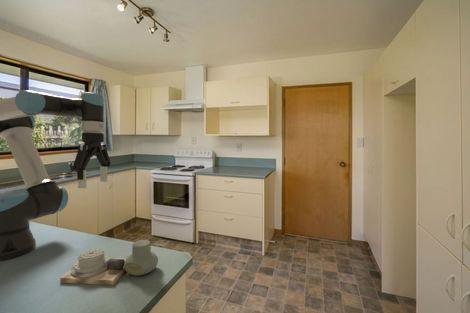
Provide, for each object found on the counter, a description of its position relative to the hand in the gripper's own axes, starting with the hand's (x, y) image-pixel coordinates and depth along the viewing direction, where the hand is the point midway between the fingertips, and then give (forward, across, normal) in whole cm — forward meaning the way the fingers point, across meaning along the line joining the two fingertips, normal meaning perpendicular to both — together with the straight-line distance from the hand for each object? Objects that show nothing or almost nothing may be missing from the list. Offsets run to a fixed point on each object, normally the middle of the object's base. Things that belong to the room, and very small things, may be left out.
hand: (93, 184), depth 93 cm
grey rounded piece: (+27, -14, -26) cm, 40 cm away
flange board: (+27, -16, -12) cm, 34 cm away
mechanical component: (+25, -16, -10) cm, 31 cm away
